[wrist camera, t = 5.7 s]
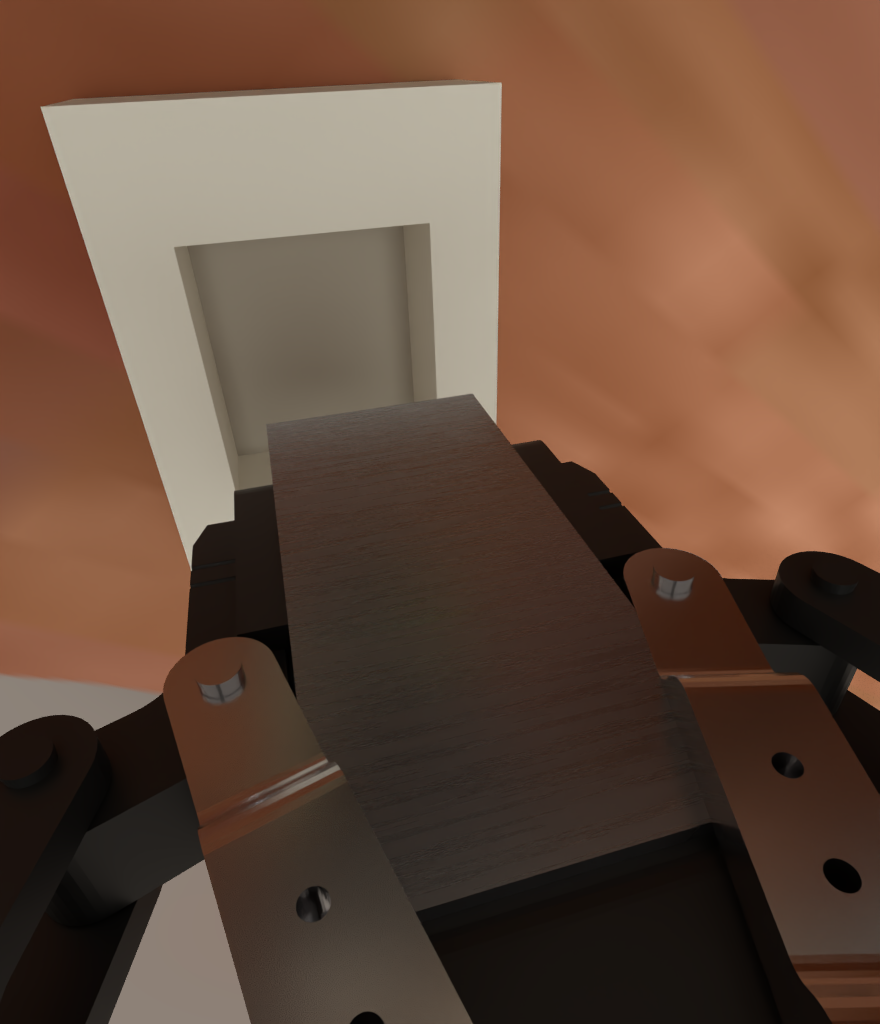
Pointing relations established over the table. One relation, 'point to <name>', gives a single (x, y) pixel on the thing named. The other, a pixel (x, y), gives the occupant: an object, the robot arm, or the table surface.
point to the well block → (286, 260)
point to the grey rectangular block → (469, 658)
